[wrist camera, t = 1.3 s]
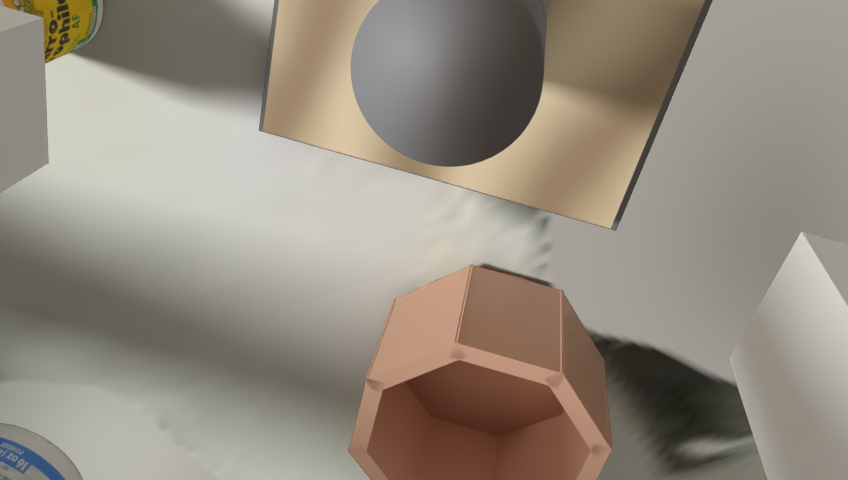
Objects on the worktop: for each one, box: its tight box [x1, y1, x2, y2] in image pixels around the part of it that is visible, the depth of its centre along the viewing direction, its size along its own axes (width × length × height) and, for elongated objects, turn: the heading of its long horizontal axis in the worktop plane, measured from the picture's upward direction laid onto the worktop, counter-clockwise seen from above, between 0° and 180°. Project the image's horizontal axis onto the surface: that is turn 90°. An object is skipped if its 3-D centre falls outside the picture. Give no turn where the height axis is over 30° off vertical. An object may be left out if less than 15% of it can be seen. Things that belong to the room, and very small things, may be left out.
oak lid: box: [263, 0, 705, 229], centre depth 24 cm, size 16×16×12 cm
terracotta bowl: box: [348, 264, 612, 480], centre depth 36 cm, size 11×11×7 cm
